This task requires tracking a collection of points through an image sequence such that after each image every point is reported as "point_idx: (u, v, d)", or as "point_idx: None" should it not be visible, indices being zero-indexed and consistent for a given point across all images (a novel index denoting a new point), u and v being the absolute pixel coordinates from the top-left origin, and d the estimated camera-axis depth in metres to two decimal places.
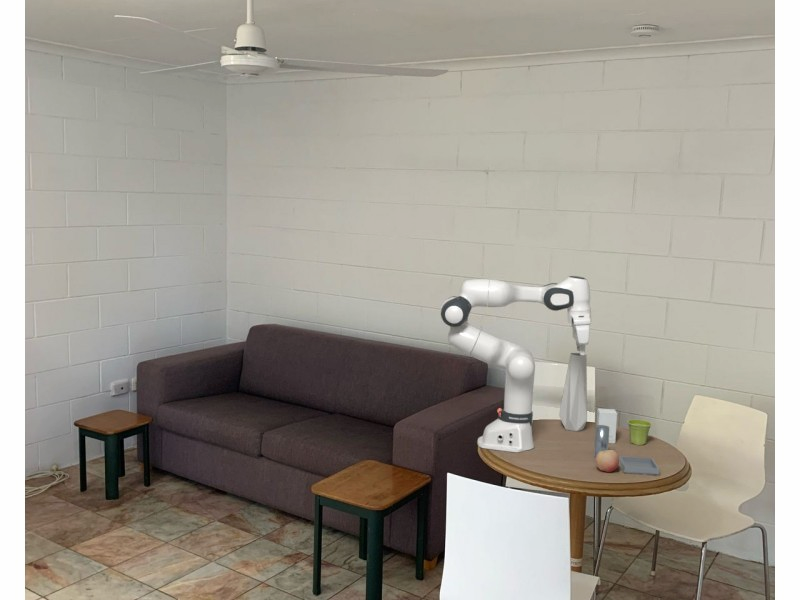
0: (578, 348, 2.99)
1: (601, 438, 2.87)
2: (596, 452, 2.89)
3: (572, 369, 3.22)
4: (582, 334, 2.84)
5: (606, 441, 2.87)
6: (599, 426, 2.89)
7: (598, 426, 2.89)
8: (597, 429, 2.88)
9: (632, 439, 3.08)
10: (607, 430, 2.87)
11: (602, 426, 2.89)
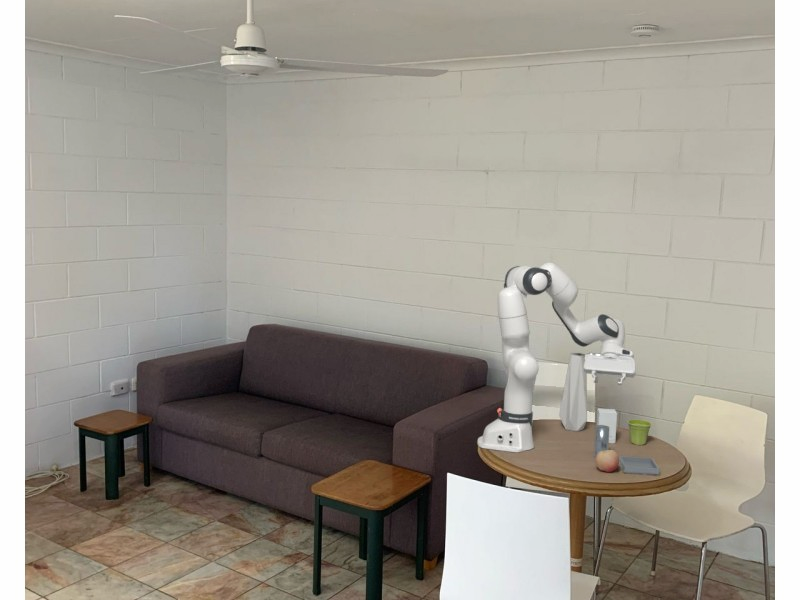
0: (597, 379, 3.02)
1: (601, 438, 2.87)
2: (596, 452, 2.89)
3: (572, 369, 3.22)
4: None
5: (606, 441, 2.87)
6: (599, 426, 2.89)
7: (598, 426, 2.89)
8: (597, 429, 2.88)
9: (632, 439, 3.08)
10: (607, 430, 2.87)
11: (602, 426, 2.89)
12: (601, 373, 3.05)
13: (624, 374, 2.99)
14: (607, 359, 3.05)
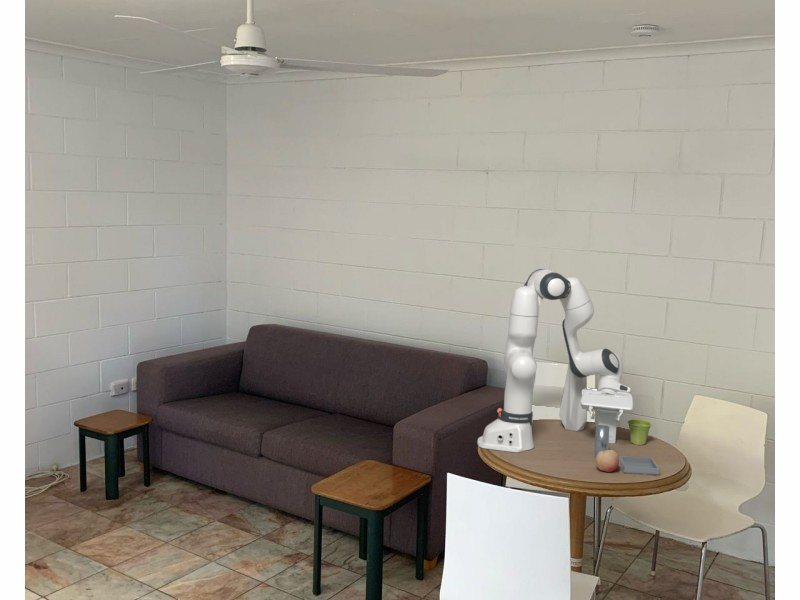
0: (594, 415, 2.97)
1: (601, 438, 2.87)
2: (596, 452, 2.89)
3: None
4: None
5: (606, 441, 2.87)
6: (599, 426, 2.89)
7: (598, 426, 2.89)
8: (597, 429, 2.88)
9: (632, 439, 3.08)
10: (607, 430, 2.87)
11: (602, 426, 2.89)
12: (598, 409, 3.00)
13: (621, 411, 2.95)
14: (604, 395, 3.00)
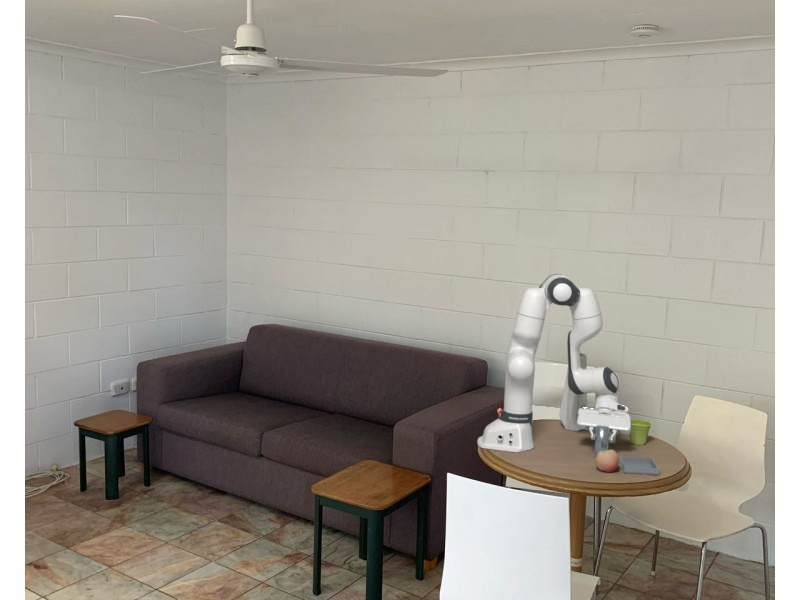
0: None
1: (601, 438, 2.87)
2: (596, 452, 2.89)
3: None
4: None
5: (606, 441, 2.87)
6: (599, 426, 2.89)
7: (598, 426, 2.89)
8: (597, 429, 2.88)
9: (632, 439, 3.08)
10: (607, 430, 2.87)
11: (602, 426, 2.89)
12: (595, 429, 2.94)
13: (615, 431, 2.89)
14: (601, 414, 2.94)
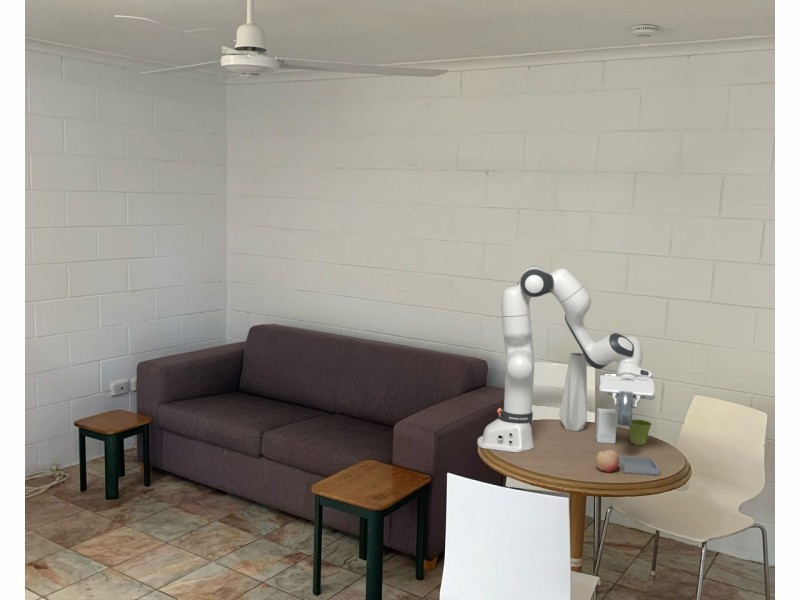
0: (618, 402, 2.82)
1: (625, 404, 2.79)
2: (620, 418, 2.81)
3: (572, 369, 3.22)
4: None
5: (630, 407, 2.79)
6: (623, 392, 2.81)
7: (621, 392, 2.81)
8: (620, 395, 2.80)
9: (632, 439, 3.08)
10: (631, 395, 2.79)
11: (625, 392, 2.81)
12: (618, 395, 2.85)
13: (639, 396, 2.81)
14: (624, 380, 2.86)
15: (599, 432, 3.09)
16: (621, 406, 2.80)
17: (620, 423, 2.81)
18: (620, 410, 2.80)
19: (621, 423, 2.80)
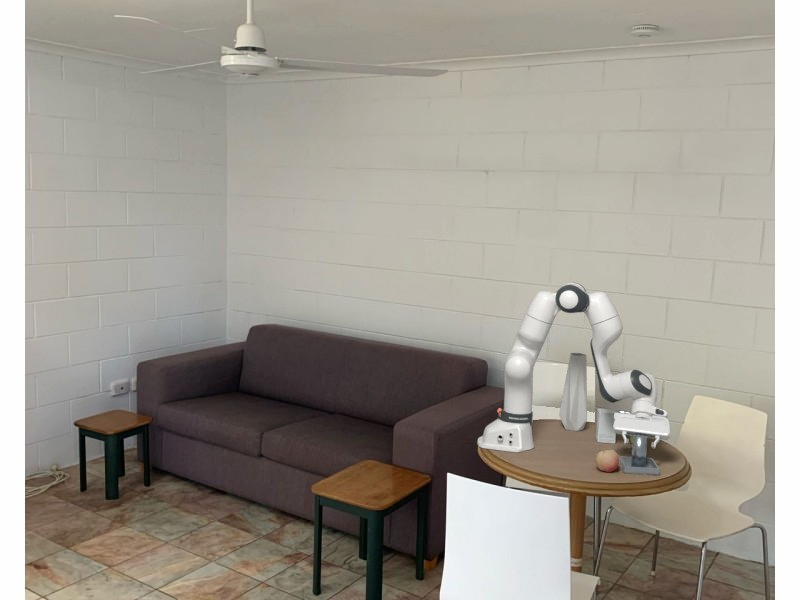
0: (628, 441, 2.78)
1: (639, 447, 2.75)
2: (633, 462, 2.76)
3: (572, 369, 3.22)
4: None
5: (644, 450, 2.75)
6: (637, 435, 2.77)
7: (635, 435, 2.77)
8: (634, 438, 2.76)
9: (632, 439, 3.08)
10: (645, 439, 2.75)
11: (639, 435, 2.76)
12: (632, 434, 2.81)
13: (658, 436, 2.76)
14: (639, 419, 2.81)
15: (599, 432, 3.09)
16: (635, 449, 2.76)
17: (634, 466, 2.77)
18: (634, 453, 2.76)
19: None
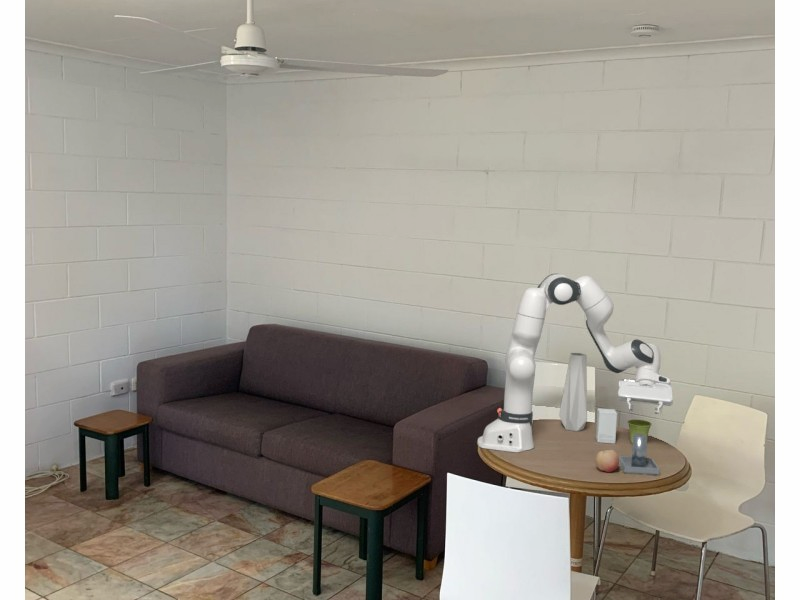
0: (632, 407, 2.89)
1: (639, 447, 2.75)
2: (633, 462, 2.77)
3: (572, 369, 3.22)
4: None
5: (644, 450, 2.75)
6: (637, 435, 2.77)
7: (635, 435, 2.77)
8: (634, 438, 2.76)
9: (632, 439, 3.08)
10: (645, 439, 2.75)
11: (639, 435, 2.77)
12: (636, 401, 2.92)
13: (661, 402, 2.87)
14: (643, 386, 2.92)
15: (599, 432, 3.09)
16: (635, 449, 2.76)
17: (634, 466, 2.77)
18: (634, 453, 2.76)
19: (635, 466, 2.76)
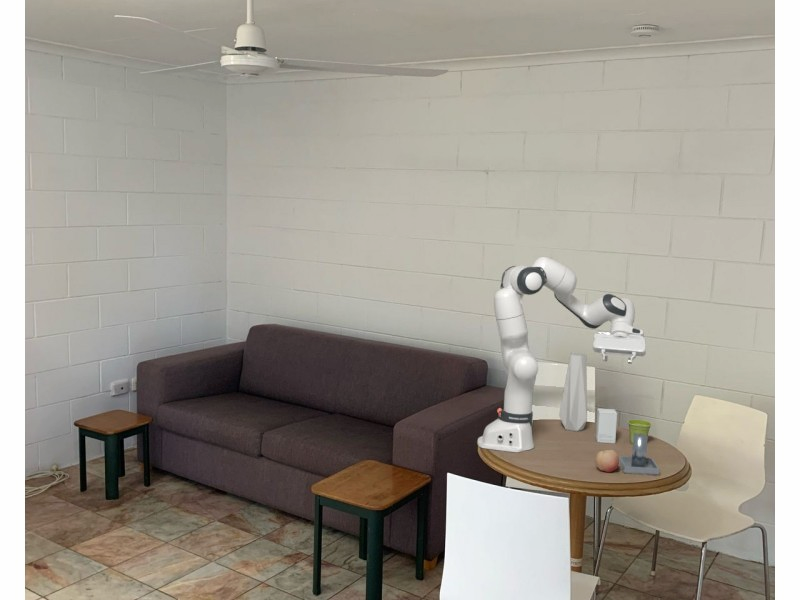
0: (607, 358, 2.98)
1: (639, 447, 2.75)
2: (633, 462, 2.77)
3: (572, 369, 3.22)
4: None
5: (644, 450, 2.75)
6: (637, 435, 2.77)
7: (636, 435, 2.77)
8: (635, 438, 2.76)
9: (632, 439, 3.08)
10: (645, 439, 2.75)
11: (639, 435, 2.76)
12: (611, 352, 3.01)
13: (634, 353, 2.96)
14: (617, 338, 3.02)
15: (599, 432, 3.09)
16: (635, 449, 2.76)
17: (634, 466, 2.77)
18: (634, 453, 2.76)
19: (635, 466, 2.76)
